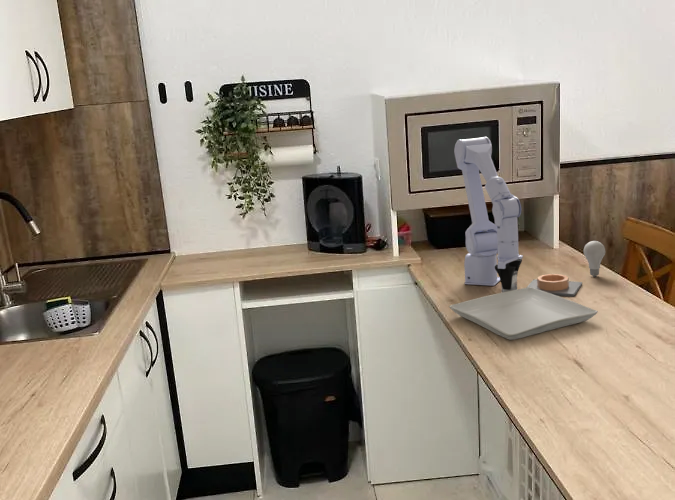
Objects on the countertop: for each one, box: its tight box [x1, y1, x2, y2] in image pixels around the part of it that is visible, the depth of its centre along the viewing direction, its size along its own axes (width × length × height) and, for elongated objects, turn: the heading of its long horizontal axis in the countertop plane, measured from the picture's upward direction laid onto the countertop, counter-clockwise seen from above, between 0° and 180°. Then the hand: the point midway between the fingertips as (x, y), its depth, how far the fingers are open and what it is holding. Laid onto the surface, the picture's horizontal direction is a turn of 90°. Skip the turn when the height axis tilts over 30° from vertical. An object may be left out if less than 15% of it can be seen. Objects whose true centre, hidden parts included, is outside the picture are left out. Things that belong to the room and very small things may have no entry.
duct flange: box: [525, 273, 583, 298], centre depth 209 cm, size 14×12×3 cm
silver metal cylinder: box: [500, 270, 518, 293], centre depth 207 cm, size 5×5×7 cm
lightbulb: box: [583, 240, 606, 278], centre depth 217 cm, size 6×6×11 cm
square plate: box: [448, 286, 599, 341], centre depth 186 cm, size 27×27×4 cm
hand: (509, 286), depth 207 cm, fingers closed on silver metal cylinder, 4 cm apart
